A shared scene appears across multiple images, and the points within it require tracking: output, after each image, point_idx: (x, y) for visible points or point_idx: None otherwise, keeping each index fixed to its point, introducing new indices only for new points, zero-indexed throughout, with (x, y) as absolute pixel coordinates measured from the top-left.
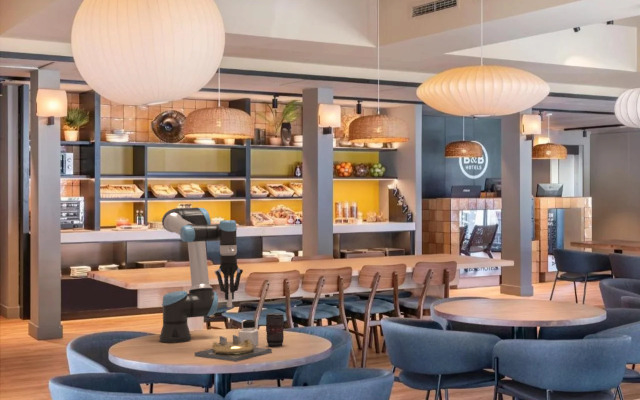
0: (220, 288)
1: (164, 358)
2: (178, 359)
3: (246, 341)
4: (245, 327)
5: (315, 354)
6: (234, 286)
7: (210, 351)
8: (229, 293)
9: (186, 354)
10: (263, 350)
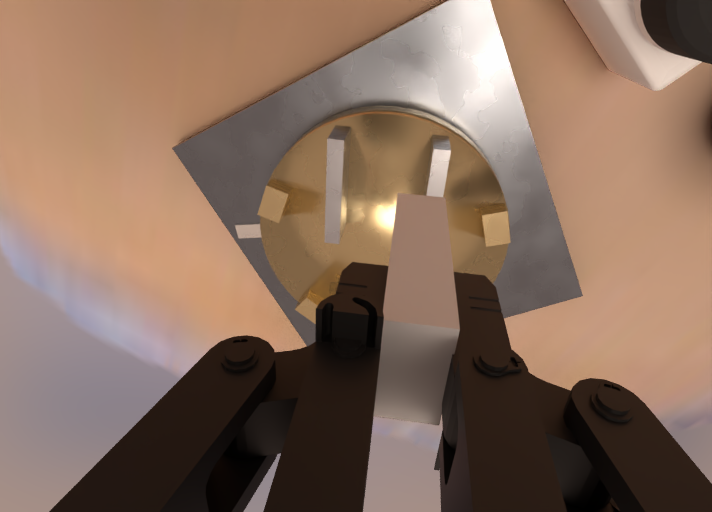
0: (182, 402)
1: (21, 115)
2: (93, 183)
3: (483, 231)
4: (648, 31)
5: (698, 419)
6: (610, 488)
7: (263, 170)
8: (388, 409)
9: (144, 65)
10: (523, 301)
